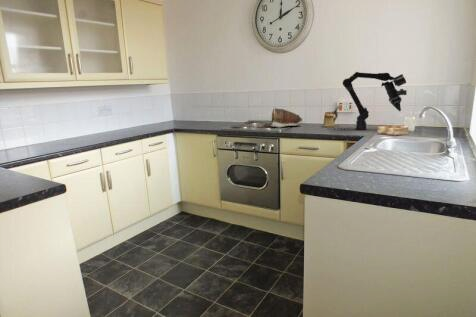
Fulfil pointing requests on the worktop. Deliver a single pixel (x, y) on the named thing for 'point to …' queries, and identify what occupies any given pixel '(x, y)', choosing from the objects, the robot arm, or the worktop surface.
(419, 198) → the worktop surface
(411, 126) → the white crate
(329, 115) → the wooden mug
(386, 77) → the robot arm
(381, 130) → the pine crate
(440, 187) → the worktop surface
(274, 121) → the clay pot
